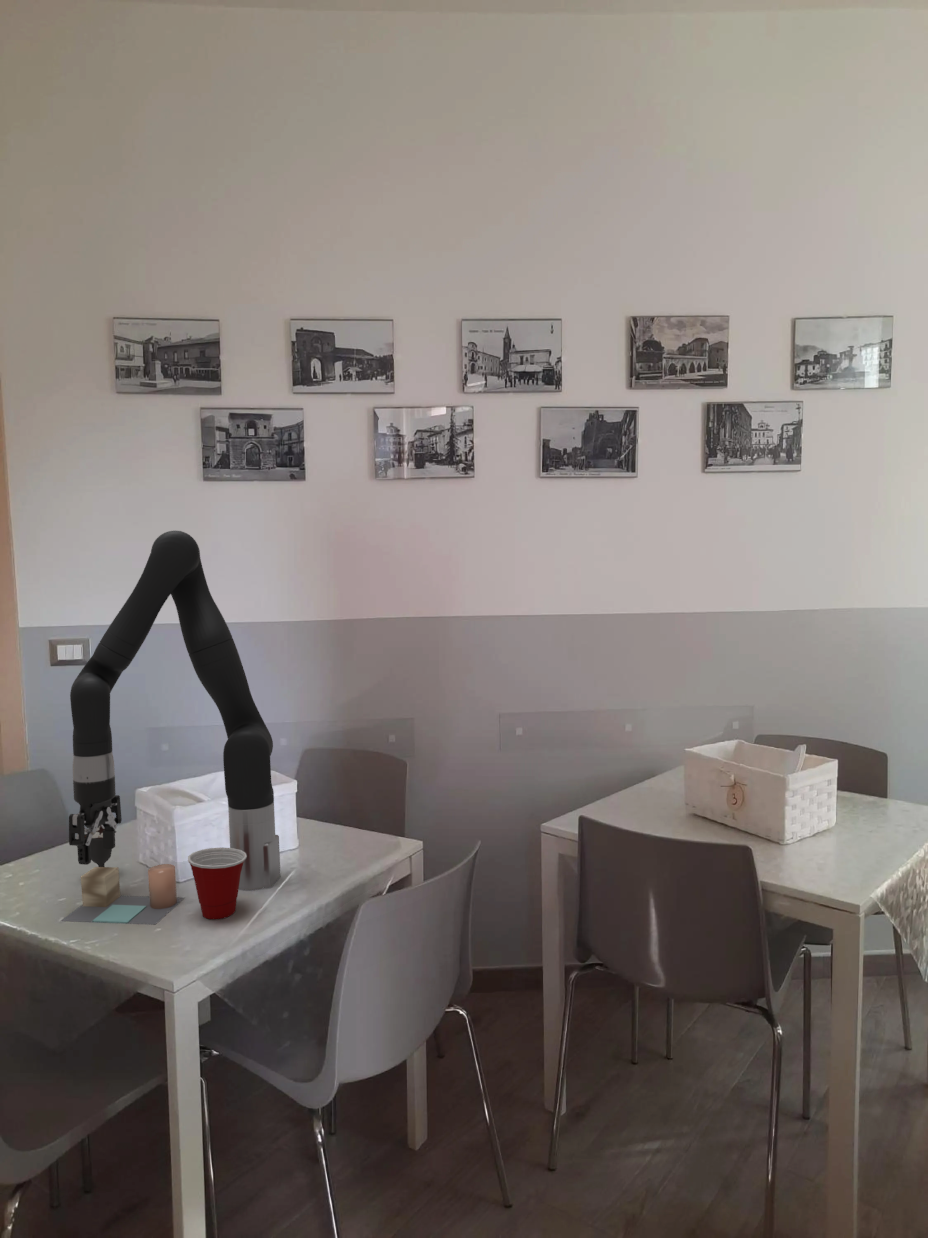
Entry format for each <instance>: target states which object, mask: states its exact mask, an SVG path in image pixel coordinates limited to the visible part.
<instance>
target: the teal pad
mask: <svg viewBox="0 0 928 1238" xmlns="http://www.w3.org/2000/svg"><path fill="white" fill-rule="evenodd" d="M145 908H146V906H136V905H112V906H110V907H109V908H108V909H107V910H105V911H104V912H103V913H101V914H100V915H99V916H98V917H96V918H95V919H94V920H92V922H91V923H96V922H102V923H101V924H122V923H129V922H130V921H131V920H132V919H133V918H135V917H136V916H137V915H138V914H139V913H140V912H142V911H143V910H144V909H145Z"/></svg>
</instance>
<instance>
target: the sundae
mask: <svg viewBox="0 0 928 1238" xmlns="http://www.w3.org/2000/svg"><path fill="white" fill-rule="evenodd" d="M84 829H86V826H84ZM88 829H90V828H88ZM103 830H105V829H103V828H102V826H101V825H100V826H99V827H98V828H97V831H96V833H95V834H94V835H93V836H92V839H91V842H90V848H91V862H93V863H94V864H97V865H98V866H97V867H106V865H105V864H106V863H107V862H108V861H109V860H110V858H111V857H112V852H113V851H112V850H113V849H105V848H104V847H103ZM116 833H117V831H116V830H115V834H116ZM86 836H87V834H85V839H86Z"/></svg>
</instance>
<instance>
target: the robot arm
mask: <svg viewBox="0 0 928 1238" xmlns="http://www.w3.org/2000/svg"><path fill="white" fill-rule="evenodd" d="M200 551H201V550H200V547H199V545H198V543H197V541H196V539H194V537H192V536H191V535H190V534H188V533H187V532H185V531H182V530H169V531H166V532H164V533H161V534H160V535H158V536H157V538H155V540H154V542H153V544H152V546H151V550H150V554H149V557H148V558H147V562H146V563H145V566H144V568H143V571H142V574H141V576H140V577H139V579H138V581H137V583H136V585H135V587H133V590H132V591H131V593H130V595H129V596H128V598H127V600H126V601H125V603H123V605H122V607H121V608H120V610H119V611H118V613H117V614H116V615H115V617H114V618H113V620H112V621H111V622H110V624H109V626H108V628H107V629H106V631H105V633H104V634H103V636H102V637H101V639H100V640H99V643H98V644H97V646H96V648H95V650H94V651H93V653H92V655H91V657H90V658H89V659H88V660H87V662H86V663H85V665H84V666H83V668H82V669H81V670H80V672H79V673H78V675H77V677H75V679H74V681H73V683H72V684H71V688H70V692H69V693H70V694H69V696H70V698H69V699H70V711H71V718H72V719H71V720H72V727H73V730H72V752H73V753H72V754H73V756H72V757H73V758H72V784H73V801H74V802H75V803H76V804H78V805H79V812H78V813H70V814H69V816H68V838H69V839H68V844H69V846H76V848H77V861H78V864H79V865H84V866H85V865H87V866H88V865H89V864H91V862H92V860H91V848H90V842H91V839H92V836H93V835H94V834H95V833H96V831H97V828H98V827H99V826H100V825H101V826H102V828H103V829H105V830H103V847H104V848H105V849H112V850H113V849H114V848H116V833H115V831H116V829H117V827H118V824H121V823H122V820H123V819H122V809H121V808H122V807H121V805H122V804H121V796H120V794H119V795H118V794H116V793H117V792H116V774H115V773H116V771H115V759H114V753H113V736H112V734H113V733H112V728H111V692H112V691H113V689H114V687H115V686H116V683H117V682H118V680H119V678H120V676H121V675H122V673H123V672H124V671H125V670H126V669H127V668H128V667H129V666H130V665H131V663H132V661H133V660H134V659H135V657H136V655H137V653H138V652H139V651H140V649H141V647H142V645H143V644H144V642H145V640H146V638H147V637H148V635H149V633H150V631H151V630H152V627H153V625H154V623H155V622H156V620H157V617H158V615H159V613H160V611H161V610H162V608H163V606H164V604H165V603H166V601H167V600H168V598H169V597H170V596H171V598H172V601H173V602H174V605H175V609H176V613H177V617H178V621H179V626H180V630H181V633H182V635H181V636H182V638H183V642H184V645H185V648H186V651H187V654H188V657H189V659H190V661H191V664H192V667H193V670H194V671H195V675H196V676H197V678H198V680H199V682H200V683H201V684H202V686H203V688H204V689H205V690H206V692H207V693H208V694H209V696H210V697H211V700H212V701H213V702H214V704H215V705H216V707H217V709H218V711H219V714H220V716H221V719H222V722H223V726H224V730H225V732H226V738H227V740H226V742H225V744H224V747H223V753H222V754H223V755H222V756H223V757H222V758H223V760H222V761H223V773H224V774H223V775H224V776H223V777H224V790H225V794H226V797H227V806H228V807H227V808H228V827H229V828H228V831H229V832H228V833H229V848H234V849H238V850H242V851H243V852H245V853H246V856H247V858H246V859H245V861H244V863H243V866H242V871H241V874H240V882H239V889H238V891H239V890H240V891H258V890H262V889H271V888H272V887H273V886H274V885H275V884H276V883H277V882H278V880H279V879H281V876H282V875H281V874H282V873H281V853H280V835H279V834H276V822H275V820H276V819H275V818H276V816H275V796H274V795H275V792H274V787H273V784H272V772H271V771H272V769H271V767H272V765H271V755H272V753H273V748H274V741H273V738H272V734H271V732H270V730H269V729H268V727H267V725H266V723H265V722H264V719H263V718H262V717H263V716H262V715H261V713H260V711H259V709H258V707H257V706H256V702H255V701H254V699H253V695H252V693H251V690H250V689H251V688H250V685H249V683H248V679H247V675H246V673H245V669H244V667H243V663H242V660H241V657H240V654H239V651H238V648H237V646H236V643H235V640H234V639H233V635H232V633H231V631H230V628H229V626H228V624H227V622H226V621H225V618H224V616H223V615H222V612H221V611H220V609H219V607H218V605H217V603H216V601H215V600H214V598H213V596H212V594H211V592H210V589H209V588H210V587H209V586H208V582H207V579H206V575H205V573H204V568H203V565H202V559H201V552H200ZM113 813H114V814H115V815H114V814H113ZM84 827H85V829H84ZM89 828H90V829H89ZM85 834H87V836H86V839H85Z"/></svg>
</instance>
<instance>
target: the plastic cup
mask: <svg viewBox="0 0 928 1238" xmlns="http://www.w3.org/2000/svg"><path fill="white" fill-rule="evenodd" d="M246 858H247V856H246V853H245V852H243V851H242V850H238V849H234V848H230V847H209V848H205V849H199V850H196V851H194V852H192V853H190V854H189V855H188V856H187V861H188V863H189V865H190V868H191V871H192V872H191V873H192V877H193V878H194V885H195V890H196V894H197V899H198V903H199V904H200V910H201V914H202V917H203V918H205V919H206V920H223V919H226V918H228V917H230V916H233V915H234V913H235V912H236V908H237V899H238V896H239V882H240V874H241V871H242V866H243V863H244V861H245V859H246Z"/></svg>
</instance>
